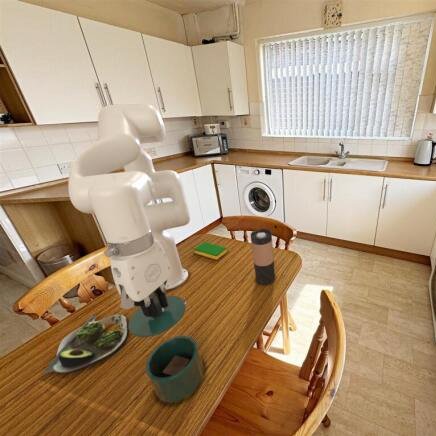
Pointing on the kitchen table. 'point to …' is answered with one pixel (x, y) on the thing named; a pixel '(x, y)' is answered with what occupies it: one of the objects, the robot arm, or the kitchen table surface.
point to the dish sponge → (210, 250)
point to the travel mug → (263, 255)
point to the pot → (182, 381)
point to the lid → (162, 322)
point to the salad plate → (89, 345)
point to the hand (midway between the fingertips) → (157, 310)
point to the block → (175, 366)
